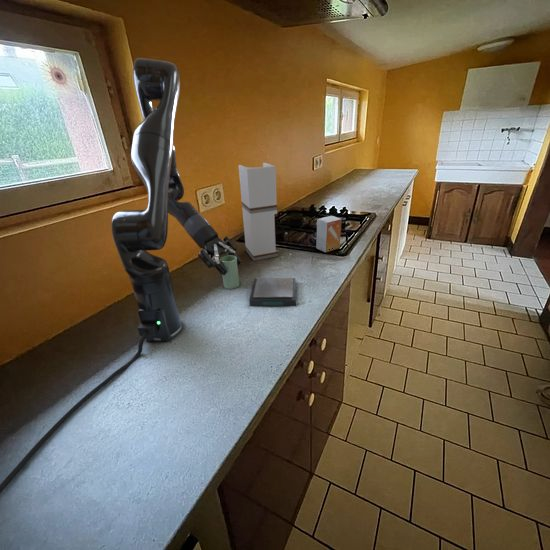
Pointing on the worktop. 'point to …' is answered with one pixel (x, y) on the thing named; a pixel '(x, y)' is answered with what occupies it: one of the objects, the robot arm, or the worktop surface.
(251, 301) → the scale
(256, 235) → the tall white tower
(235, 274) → the cup
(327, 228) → the small box
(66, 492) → the worktop surface
